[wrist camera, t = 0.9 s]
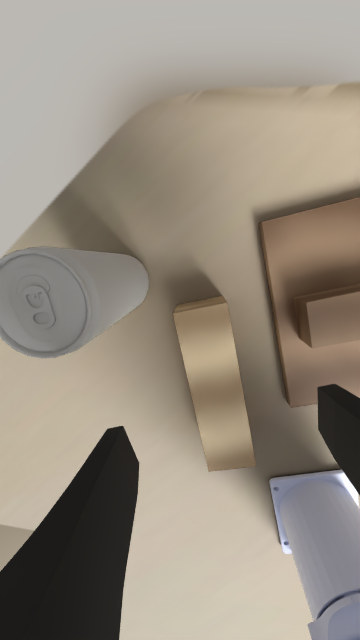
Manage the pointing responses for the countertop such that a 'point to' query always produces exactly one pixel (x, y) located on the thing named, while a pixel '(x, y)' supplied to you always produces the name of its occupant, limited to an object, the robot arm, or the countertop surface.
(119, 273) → the beverage can
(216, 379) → the beam
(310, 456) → the countertop surface
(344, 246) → the fulcrum
